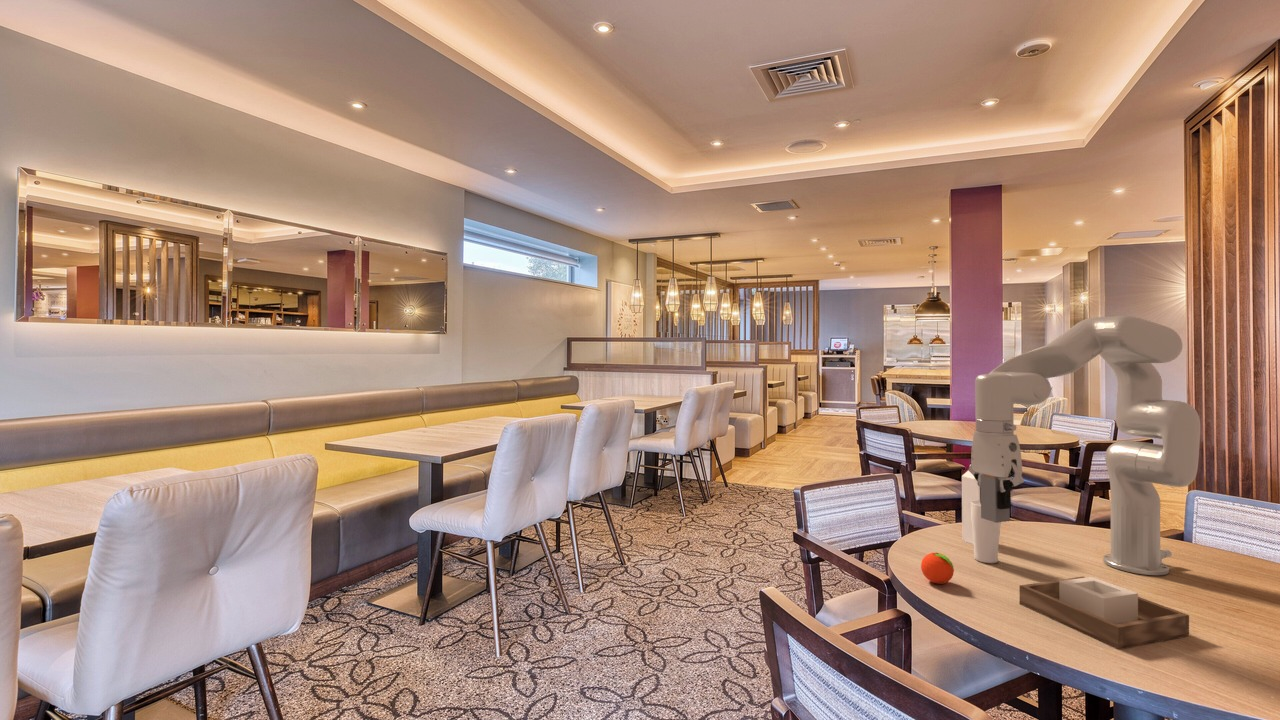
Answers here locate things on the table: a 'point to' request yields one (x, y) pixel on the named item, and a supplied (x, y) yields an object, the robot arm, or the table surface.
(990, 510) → the plug
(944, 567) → the clementine
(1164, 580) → the table surface
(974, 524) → the drinking glass
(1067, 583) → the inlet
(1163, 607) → the crate
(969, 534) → the milk
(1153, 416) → the robot arm
